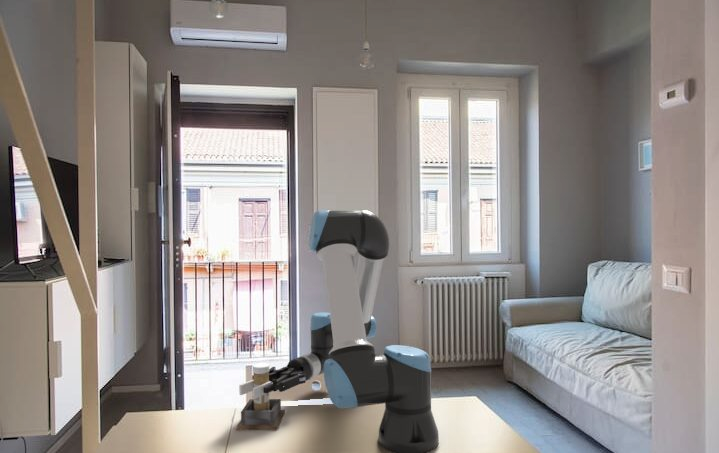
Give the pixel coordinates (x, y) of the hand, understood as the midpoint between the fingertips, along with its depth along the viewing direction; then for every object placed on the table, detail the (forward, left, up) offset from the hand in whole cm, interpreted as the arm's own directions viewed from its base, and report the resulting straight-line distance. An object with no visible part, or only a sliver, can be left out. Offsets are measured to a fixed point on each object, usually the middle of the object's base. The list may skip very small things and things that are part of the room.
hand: (246, 391), depth 121 cm
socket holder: (0, -5, -10) cm, 11 cm away
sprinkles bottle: (0, -5, -8) cm, 9 cm away
